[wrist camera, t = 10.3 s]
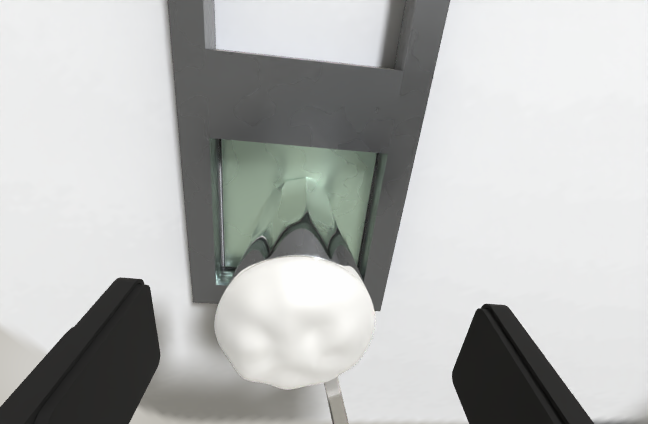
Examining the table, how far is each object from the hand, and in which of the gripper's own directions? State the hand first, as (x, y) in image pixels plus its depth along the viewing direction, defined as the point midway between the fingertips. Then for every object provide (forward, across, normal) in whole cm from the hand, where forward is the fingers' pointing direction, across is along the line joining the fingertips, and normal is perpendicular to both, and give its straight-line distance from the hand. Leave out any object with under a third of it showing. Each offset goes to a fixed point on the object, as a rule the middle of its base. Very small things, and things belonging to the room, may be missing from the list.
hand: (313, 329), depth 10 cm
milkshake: (+8, +1, 0) cm, 8 cm away
